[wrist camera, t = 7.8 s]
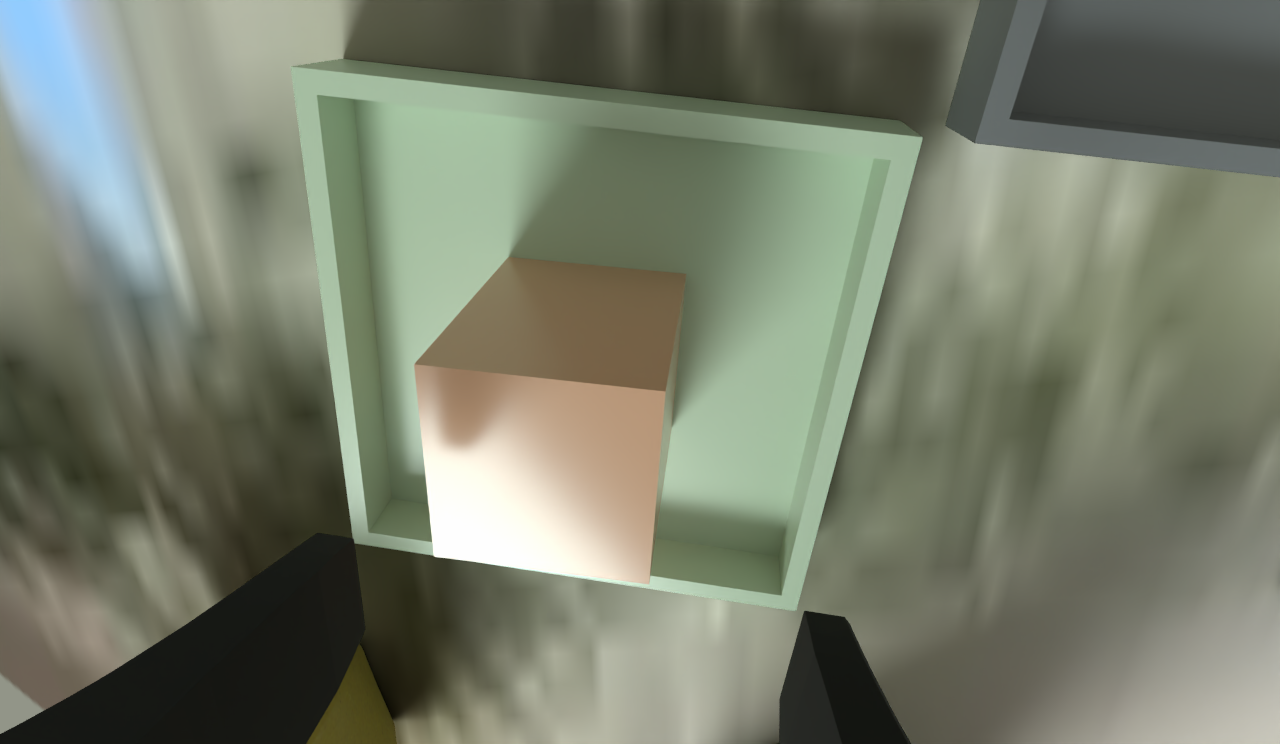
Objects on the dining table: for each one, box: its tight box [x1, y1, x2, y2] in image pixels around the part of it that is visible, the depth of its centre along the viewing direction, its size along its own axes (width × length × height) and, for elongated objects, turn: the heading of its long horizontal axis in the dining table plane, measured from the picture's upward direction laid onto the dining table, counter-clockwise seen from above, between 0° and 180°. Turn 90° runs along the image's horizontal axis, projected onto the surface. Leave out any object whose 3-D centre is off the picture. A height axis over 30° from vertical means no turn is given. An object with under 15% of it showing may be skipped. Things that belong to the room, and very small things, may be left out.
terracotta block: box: [414, 257, 686, 584], centre depth 16 cm, size 4×4×6 cm
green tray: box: [291, 59, 923, 611], centre depth 18 cm, size 13×13×2 cm
